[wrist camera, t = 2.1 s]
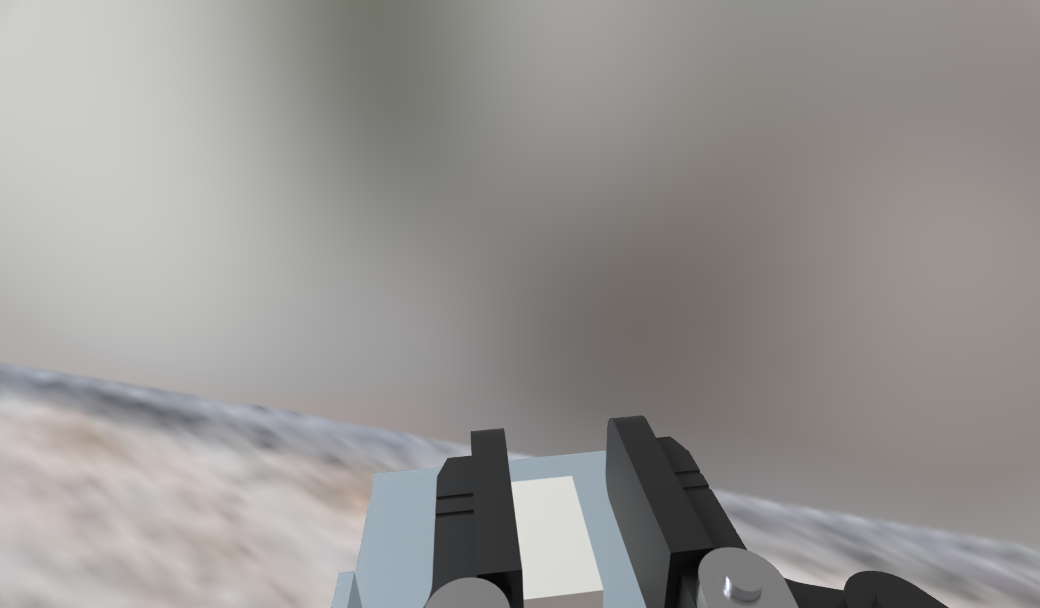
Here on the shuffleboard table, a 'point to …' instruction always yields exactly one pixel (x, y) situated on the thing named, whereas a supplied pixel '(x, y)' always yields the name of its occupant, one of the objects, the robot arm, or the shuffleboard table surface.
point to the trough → (411, 524)
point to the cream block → (555, 546)
